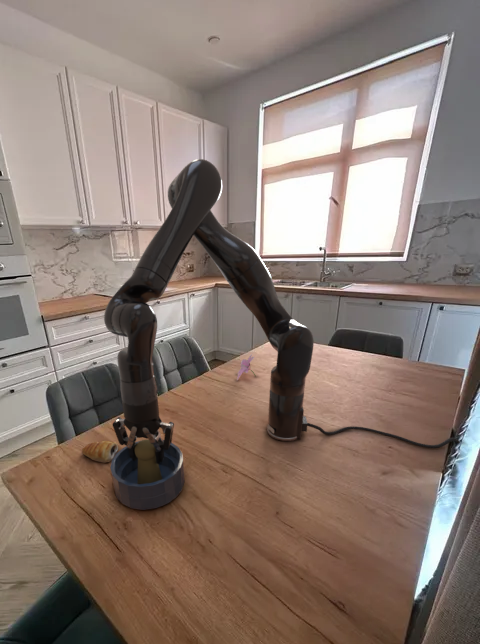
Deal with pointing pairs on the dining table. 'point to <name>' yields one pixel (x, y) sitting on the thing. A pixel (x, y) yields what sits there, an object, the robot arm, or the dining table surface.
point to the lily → (245, 366)
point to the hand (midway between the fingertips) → (147, 459)
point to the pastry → (101, 451)
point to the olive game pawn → (147, 463)
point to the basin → (148, 493)
